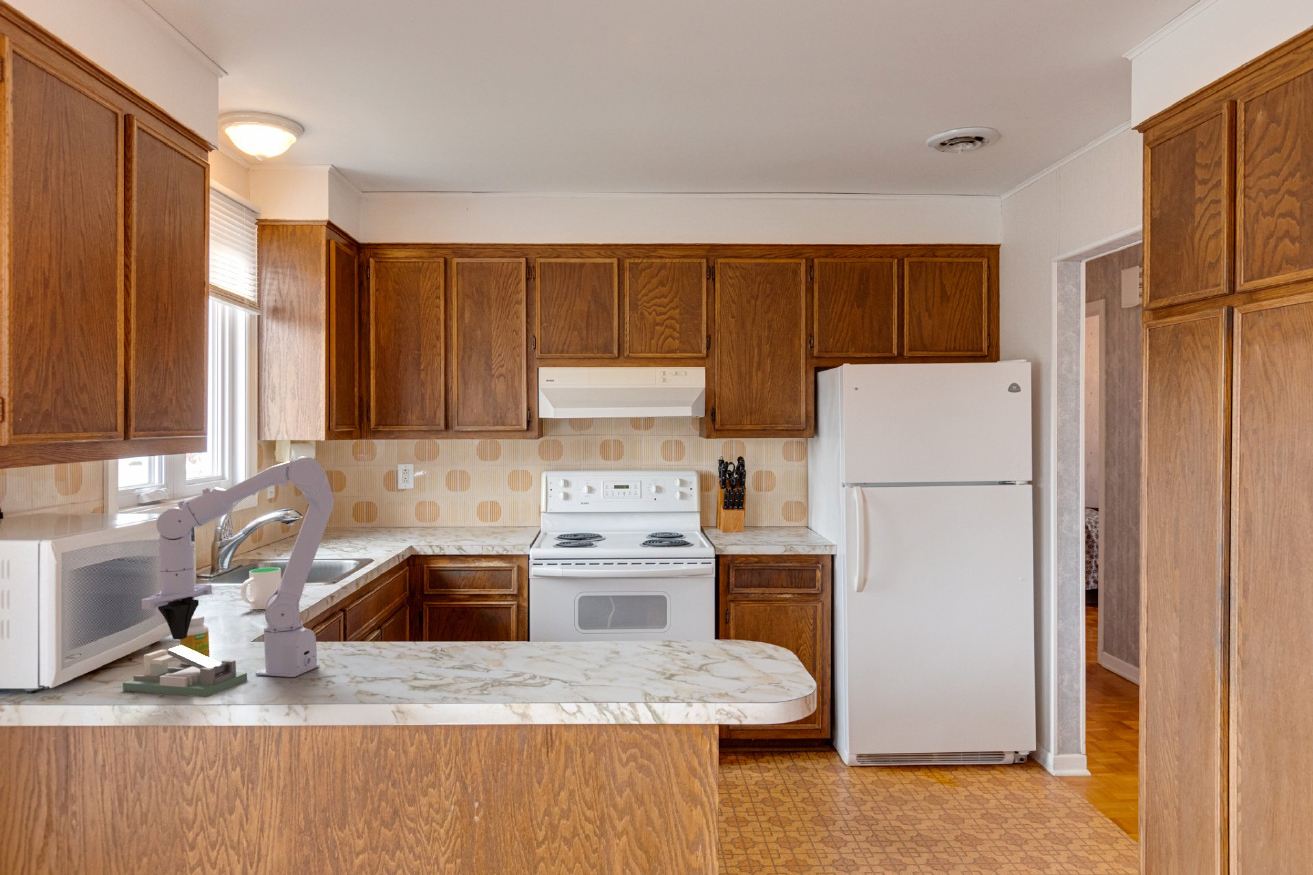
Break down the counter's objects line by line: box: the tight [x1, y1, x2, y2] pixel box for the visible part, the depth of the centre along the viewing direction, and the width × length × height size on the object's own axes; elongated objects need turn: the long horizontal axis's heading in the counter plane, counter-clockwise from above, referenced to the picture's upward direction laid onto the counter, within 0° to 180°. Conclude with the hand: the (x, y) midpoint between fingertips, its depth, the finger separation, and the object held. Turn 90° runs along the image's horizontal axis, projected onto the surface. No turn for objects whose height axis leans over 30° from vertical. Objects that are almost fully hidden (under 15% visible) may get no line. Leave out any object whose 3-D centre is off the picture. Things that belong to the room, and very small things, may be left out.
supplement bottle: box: [179, 614, 210, 666], centre depth 178 cm, size 5×5×10 cm
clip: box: [143, 649, 178, 676], centre depth 163 cm, size 4×4×4 cm
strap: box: [167, 645, 229, 676], centre depth 160 cm, size 12×4×2 cm, turn 74°
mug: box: [240, 567, 282, 610], centre depth 231 cm, size 12×8×10 cm, turn 163°
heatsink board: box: [122, 659, 248, 698], centre depth 161 cm, size 20×10×4 cm, turn 74°
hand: (179, 638), depth 161 cm, fingers closed
